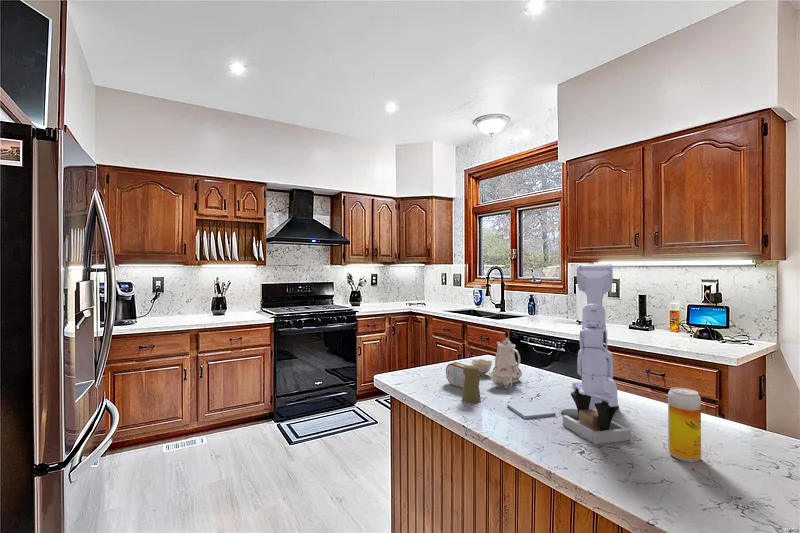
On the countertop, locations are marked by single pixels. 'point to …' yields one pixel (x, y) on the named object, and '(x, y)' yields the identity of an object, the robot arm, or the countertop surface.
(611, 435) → the grey flat u-shaped piece
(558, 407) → the countertop surface
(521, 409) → the board
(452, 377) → the tin
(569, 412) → the hole mat
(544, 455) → the countertop surface
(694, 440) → the beer can
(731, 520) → the countertop surface
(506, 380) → the chinaware
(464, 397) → the olive waisted block
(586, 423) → the walnut cube
